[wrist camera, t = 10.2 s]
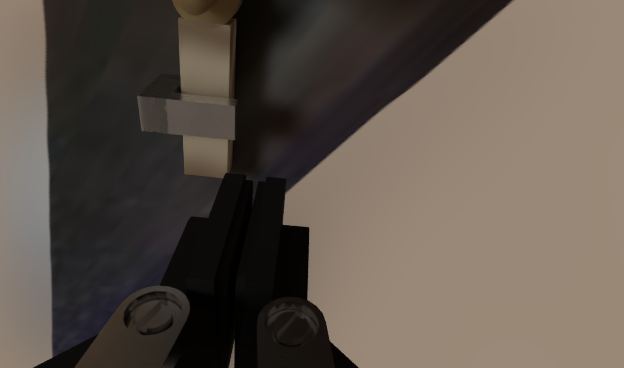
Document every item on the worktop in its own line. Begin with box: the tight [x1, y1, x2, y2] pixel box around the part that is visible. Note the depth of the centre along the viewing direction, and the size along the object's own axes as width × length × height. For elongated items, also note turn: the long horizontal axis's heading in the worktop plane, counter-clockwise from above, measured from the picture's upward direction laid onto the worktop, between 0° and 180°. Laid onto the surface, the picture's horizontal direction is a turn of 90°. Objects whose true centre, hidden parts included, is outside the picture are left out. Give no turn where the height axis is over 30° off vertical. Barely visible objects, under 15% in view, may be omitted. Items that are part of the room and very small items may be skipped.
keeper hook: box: [137, 74, 238, 140], centre depth 36 cm, size 3×8×6 cm, turn 84°
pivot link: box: [172, 0, 242, 178], centre depth 34 cm, size 18×5×6 cm, turn 173°
